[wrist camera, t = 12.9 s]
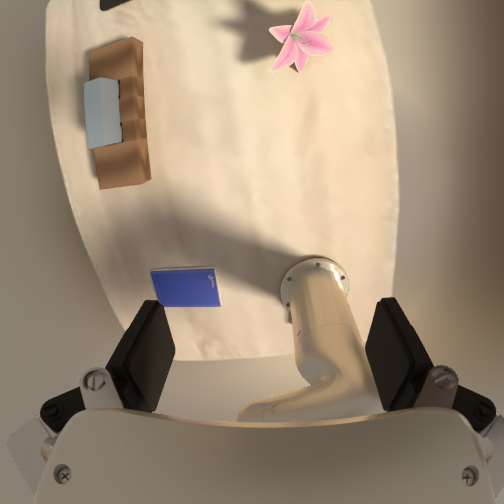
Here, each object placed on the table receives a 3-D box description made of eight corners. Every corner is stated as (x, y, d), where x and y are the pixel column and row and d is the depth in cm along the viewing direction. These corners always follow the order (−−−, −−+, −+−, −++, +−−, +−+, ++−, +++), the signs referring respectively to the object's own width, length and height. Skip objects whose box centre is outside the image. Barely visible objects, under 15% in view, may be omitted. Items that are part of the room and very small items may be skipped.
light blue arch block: (133, 139, 39) (104, 145, 31) (118, 142, 39) (88, 149, 31) (129, 82, 35) (100, 77, 27) (114, 87, 35) (83, 83, 27)
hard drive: (214, 269, 48) (150, 272, 49) (221, 307, 51) (160, 307, 52) (215, 265, 49) (153, 267, 50) (222, 302, 53) (163, 303, 54)
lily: (256, 80, 36) (286, 89, 29) (234, 13, 27) (262, 4, 21) (320, 63, 37) (359, 71, 30) (305, 1, 28) (344, -4, 21)
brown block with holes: (151, 178, 42) (141, 184, 39) (111, 183, 43) (99, 189, 39) (142, 42, 32) (132, 36, 28) (102, 55, 32) (89, 51, 29)
